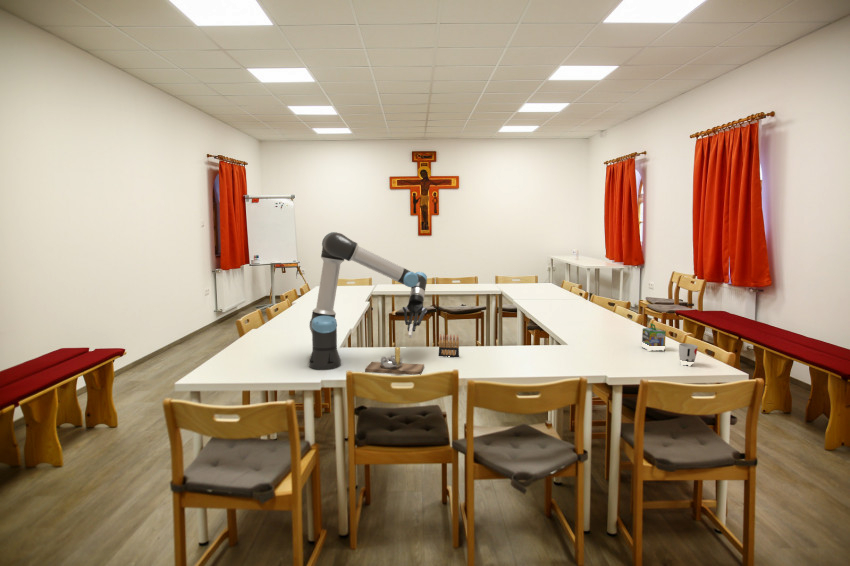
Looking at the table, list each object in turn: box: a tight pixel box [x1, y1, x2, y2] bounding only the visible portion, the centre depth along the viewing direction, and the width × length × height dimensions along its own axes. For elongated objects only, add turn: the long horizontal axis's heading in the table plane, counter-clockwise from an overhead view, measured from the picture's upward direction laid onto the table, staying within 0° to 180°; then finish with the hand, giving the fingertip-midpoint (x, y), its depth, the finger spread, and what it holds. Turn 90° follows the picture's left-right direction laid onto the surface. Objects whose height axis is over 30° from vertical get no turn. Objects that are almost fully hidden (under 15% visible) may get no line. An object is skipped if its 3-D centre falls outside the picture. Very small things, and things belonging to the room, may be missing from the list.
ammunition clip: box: [437, 333, 460, 358], centre depth 248 cm, size 11×2×12 cm, turn 82°
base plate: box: [364, 361, 425, 375], centre depth 225 cm, size 26×12×2 cm, turn 82°
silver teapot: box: [379, 346, 403, 369], centre depth 223 cm, size 14×10×11 cm
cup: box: [678, 342, 698, 363], centre depth 237 cm, size 8×8×10 cm
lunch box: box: [641, 322, 667, 347], centre depth 266 cm, size 9×9×15 cm
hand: (410, 336), depth 234 cm, fingers closed
